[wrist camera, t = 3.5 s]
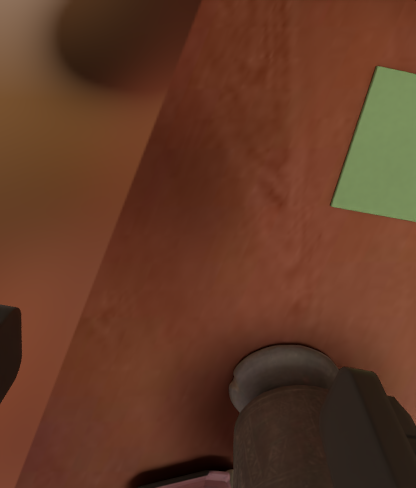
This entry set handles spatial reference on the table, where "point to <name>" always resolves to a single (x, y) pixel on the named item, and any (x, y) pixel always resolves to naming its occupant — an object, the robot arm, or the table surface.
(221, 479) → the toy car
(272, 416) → the vase
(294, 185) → the table surface
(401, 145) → the felt mat
